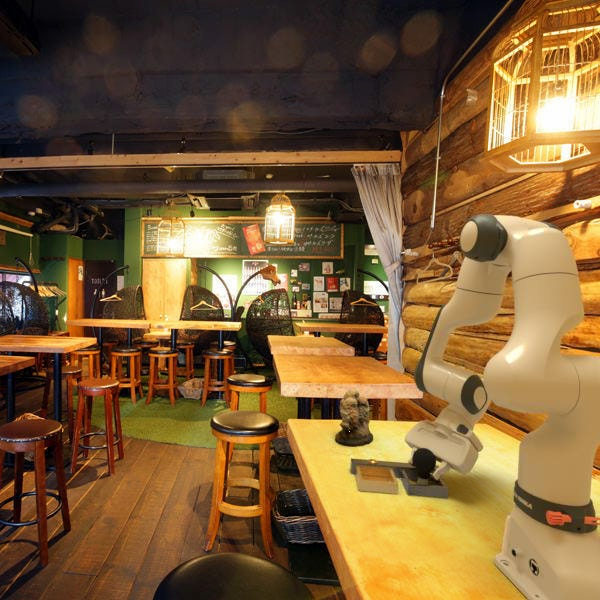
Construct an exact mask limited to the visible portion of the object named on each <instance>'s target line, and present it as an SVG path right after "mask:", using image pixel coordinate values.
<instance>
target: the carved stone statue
mask: <svg viewBox="0 0 600 600" xmlns="http://www.w3.org/2000/svg"><path fill="white" fill-rule="evenodd" d="M369 405H370V404H369V402H368V398H367V397H366V396H360V392H359V391H358V390H357V389H349V390H347V391H345V394H344V395H343V398H342V399H340V402H339V413H340V417H341V422H340V423H339V426H340V428H341V430H340V431H339V432H337V433H336V434H335V435H334V439H335V442H336V443H338V444H339V445H340V444H342V445H345V446H349V447H350V448H351V447H353V448H354V447H355V448H356V447H357V446H358V447H361V446H365V445H366V444H367V445H369V444H370V443H372V442H373V440H374V435H373V433H372V432H371V431H370V427H369V426H370V419H369V416H370V407H369ZM349 431H350V432H349ZM371 441H372V442H371Z"/></svg>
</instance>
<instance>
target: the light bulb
mask: <svg viewBox="0 0 600 600" xmlns="http://www.w3.org/2000/svg"><path fill="white" fill-rule="evenodd" d="M412 461H413V464H414V466H415V468H416V470H417V475H418V481H417V484H421V485H429V481H428V479H429V476H430V472H431V471H432V470H433V468H435V466H436V465H437V461H436V457H435V455H434V454H433V452H432V451H430V450H429V449H427V448H419V449H417V450H416V451H415V452H414V454H413V457H412Z"/></svg>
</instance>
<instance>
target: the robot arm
mask: <svg viewBox="0 0 600 600" xmlns="http://www.w3.org/2000/svg"><path fill="white" fill-rule="evenodd" d="M458 242H459V243H458V244H459V248H460V252H462V254H463V256H464V258H463V261H462V263H461V266H460V270H459V273H458V276H457V281H456V285H455V290H454V293H453V295H452V297H451V299H449V301H448V302H447V303H444V304H443V305H441V306H440V308H439V310H438V312H437V313H436V315H435V319H434V321H433V323H432V327H431V329H430V331H429V333H428V334H429V335H428V338H427V341H426V342H425V346H424V349H423V352H422V353H421V354H422V355H421V357H420V358H419V360H418V362H417V364H416V365H415V368H414V370H413V379H414V383H415V385H416V388H417V389H418V390H419V391H420V392H423V393H425V394H428V395H430V396H434V397H436V398H438V399H440V400H443V401H444V402H447V403H448V405H447V406H446V407H444V408H443V409H442V410H441V412H440V413H439V414H438V416H437V417H436V418H435V420H434V421H431V420H429V419H425V420H424V419H423V420H419V421H418V422H417V423H416V424H415V425H414V426H413V427H412V428H411V429H409V431H408V432H407V433H406V435H404V436H405V437H404V442H405V443H406V445H407V446H408V447H409V448H411V454H410V457H409V459H408V461H407V463H409V464H410V465H411V466H413V467H415V466H414V464H413V461H412V457H413V454H414V452H415V451H416V450H417V449H419V448H427V449H429V450H430V451H432V452H433V454H434V455H435V457H436V462H438V463H440V466H439V468H437V469H434V468H433V470H432V471H431V472H430V475H431V476H432V477H433V478H434V479H436V480H438V479H439V477H440V476H441V477H442V476H443V475H445V474H447V473H449V472H450V471H451V469H452V470H454V471H456V472H458V473H460V474H461V475H466V474H469V473H471V471H472V469H473V468H474V466H475V465H476V463H477V461H478V459H479V453H481V452H482V450H483V449H484V445H483V443H482V442H481V440H480V439H479V437H478V436H477V435H476V434H475V432H474V429H475V425H476V424H477V422H479V421H480V420H481V419H482V418H483V416H484V415H485V414H486V412H487V410H488V408H489V406H490V405H491V402H493V404H495V405H496V406H497V407H500V408H504V409H507V410H511V411H514V412H519V413H524V414H540V415H547V416H546V418H545V420H544V421H543V422H542V423H541V424H540V426H539V427H538V428H536V429H535V430H532V431H530V432H529V433H528V432H527V434H526V435H524V436H523V437H522V439H521V441H520V442H519V445H518V446H519V447H518V461H517V462H518V465H517V466H518V467H517V479H516V480H515V482H514V487H513V502H514V506H513V508H512V510H511V511H510V513H509V514H507V516H506V519H505V524H504V531H503V538H502V544H501V551H500V552H499V553H497V554H495V556H494V558H493V564H494V565H495V567H497V568H498V569H499V570H500V571H501V572H502V573H503V574H504V575H505V577H507V579H508V580H509V581H511V583H512V584H513V585H514V586H515V587H516V588H517V589H518V591H520V592H521V593H522V595H524V596H525V598H526V599H527V600H600V534H599V532H598V526H600V522H598V521H600V517H599V516H598V517H597V516H596V515H597V514H596V513H597V512H596V509H595V506H594V503H593V500H592V499H591V494H592V493H591V491H592V479H593V478H592V476H593V468H594V460H595V456H596V453H597V451H598V448H599V445H600V356H597V355H595V354H594V355H592V354H574V353H573V354H572V353H562V351H561V344H562V343H561V342H562V339H563V337H564V335H565V334H567V333H570V332H571V331H573V330H575V329H576V328H577V327H578V326H579V325H580V324H581V323H582V322H583V320H584V317H585V309H584V302H583V296H582V289H581V281H580V276H579V275H580V274H579V269H578V266H577V261H576V259H575V255H574V252H573V250H572V247H571V245H570V242H569V240H568V237H567V236H566V234H565V233H564V231H562V229H561V228H560V227H558V226H557V225H555V224H553V223H550V222H546V221H538V220H534V219H529V218H526V217H525V218H523V217H520V216H516V215H503V214H502V215H500V214H499V215H496V214H495V215H494V214H492V213H482V214H481V213H480V214H475V215H473V216H470V217H469V218H468V219H467V220H466V222H465V223H464V224H463V226H462V228H461V230H460V233H459V241H458ZM510 272H511V282H512V291H513V292H512V293H513V294H512V295H513V307H514V309H513V310H514V321H513V322H514V323H513V327H512V331H511V334H510V337H509V339H508V341H507V342H506V344H505V345H504V346H503V348H502V349H500V351H498V352H497V353H496V354H495V355H493V356H492V357H491V358H490V359H489V361H488V362H486V366H484V370H483V375H482V377H480V376H479V375H478V374H476V373H474V372H472V371H470V370H466V369H465V368H461V367H458V366H455V365H453V364H450V363H448V362H446V361H444V359H443V356H444V353H445V351H446V348H447V345H448V342H449V341H450V337H451V335H452V334H453V333H452V332H454V331H455V330H456V329H458V328H461V327H468V326H469V327H470V326H471V327H472V326H478V325H482V324H486V323H487V322H490V321H491V320H493V319H495V317H496V316H498V314H499V312H500V310H501V306H502V304H503V299H504V294H505V288H506V284H507V283H506V282H507V278H508V276H509V274H510Z"/></svg>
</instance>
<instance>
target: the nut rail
mask: <svg viewBox="0 0 600 600" xmlns="http://www.w3.org/2000/svg"><path fill="white" fill-rule="evenodd" d="M349 466H350V467H349V470H350V474H351V475H355V479H356V483H357V489H358V491H359V492H367V493H379V494H390V495H391V494H392V495H399V481H398V480H397V478H399V479H400V478H401V479H400V480H401V483H402V485H403V488H404V489H405V492H406V494H407V496H413V497H415V496H417V497H424V498H425V497H426V498H436V497H437V498H438V499H448V498H449V487H448V486H447V484H446V482H445V481H444V480H443V478H442V475H441V476H440V477H439V479H438V480H436V479H434V478H433V477H432V476H431V475H430V476H429V479H428V482H429V481H431V482H432V483H434V482H435V483H434V484H435V485H430V484H428V485H421V484H418V483H411V481H417V480H418V475H417V470H416V468H415V467H413V466H411V465H410V464H409V463H408V462H398V461H389V460H388V461H387V460H378V459H376V458H370V459H364V458H363V459H362V458H352V457H351V458H350V465H349ZM439 467H440V466H439V465H438V464H436V466H435V468H434V469H437V468H439ZM410 479H411V480H410ZM431 482H430V483H431Z"/></svg>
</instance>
